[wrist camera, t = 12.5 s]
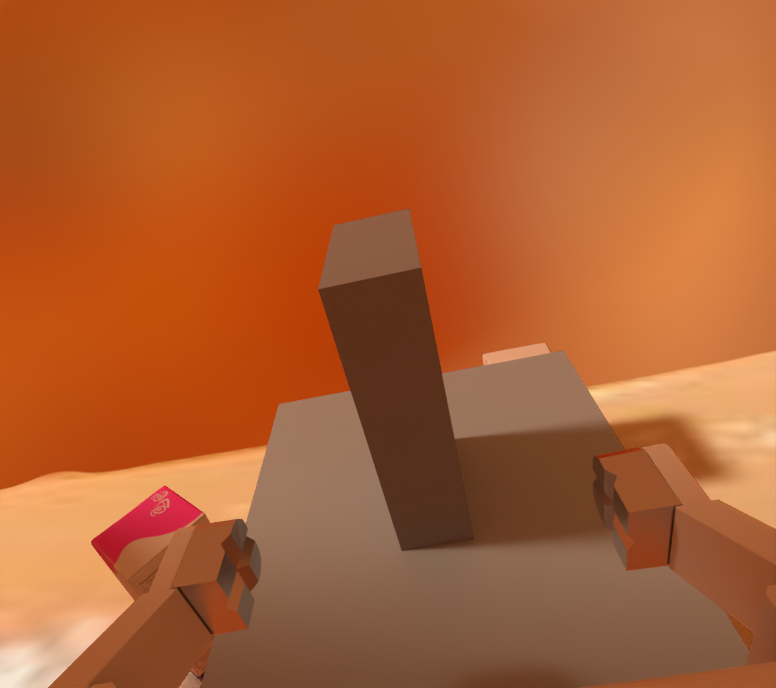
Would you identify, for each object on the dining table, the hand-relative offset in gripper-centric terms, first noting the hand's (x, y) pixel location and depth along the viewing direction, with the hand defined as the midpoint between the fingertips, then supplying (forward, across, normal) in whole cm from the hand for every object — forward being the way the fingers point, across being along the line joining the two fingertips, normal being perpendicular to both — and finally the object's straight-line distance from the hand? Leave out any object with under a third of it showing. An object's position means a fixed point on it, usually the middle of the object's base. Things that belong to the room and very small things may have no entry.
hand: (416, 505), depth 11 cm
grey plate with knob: (+5, 0, +6) cm, 8 cm away
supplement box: (+14, +20, +25) cm, 35 cm away
